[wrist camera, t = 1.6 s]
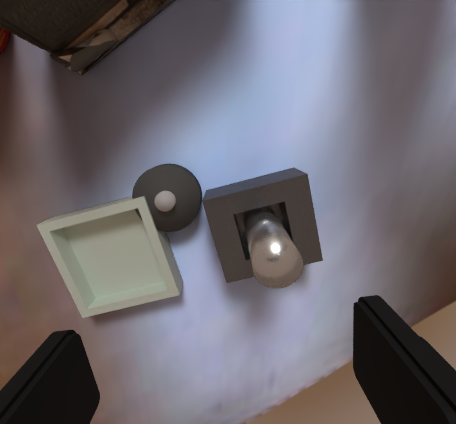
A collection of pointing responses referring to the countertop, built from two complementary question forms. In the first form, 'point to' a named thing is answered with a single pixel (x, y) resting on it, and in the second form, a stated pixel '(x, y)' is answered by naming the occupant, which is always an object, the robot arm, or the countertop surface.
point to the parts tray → (112, 256)
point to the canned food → (3, 38)
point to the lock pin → (271, 249)
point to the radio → (77, 26)
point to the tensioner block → (255, 198)
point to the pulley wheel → (169, 196)
